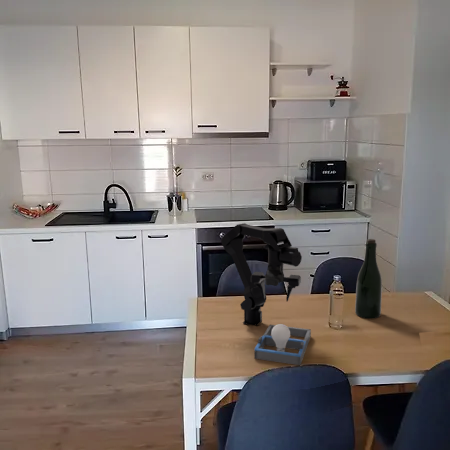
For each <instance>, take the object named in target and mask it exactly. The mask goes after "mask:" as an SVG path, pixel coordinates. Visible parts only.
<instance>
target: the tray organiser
mask: <svg viewBox="0 0 450 450" xmlns="http://www.w3.org/2000/svg"><path fill="white" fill-rule="evenodd" d="M274 326H275V324H269V325H268V327H267V328H266V330H265V331H264V334H263V335H261V336H259V337H258V339H257V341H258V342H257V344H256V345H255V347H254V349H253V350H254V351H253V353H254V359H255V360H263V361H268V362H276V363H283V364H289V365H296V366H301V365H302V362H303V359H304V356H305V354H306V351H307V348H308V345H309V343H310V340H311V333H312V330H311V329H310V328H303V327H302V328H301V327H294V326H287V327H288V328H289V330H290V338H289V340H288V341H287V343H286V347H285V349H291V350H298V353H295V352H287V351H285V352H281V351H277V350H274V349H265V346H269V347H275V348H277V347H276V343H275V341H274V340H273V338H272V336H271V331H272V329H273V327H274ZM291 336H293V337H299V339H297V338H291ZM301 337H302V338H304V339H300V338H301Z"/></svg>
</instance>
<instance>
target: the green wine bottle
mask: <svg viewBox="0 0 450 450" xmlns="http://www.w3.org/2000/svg"><path fill="white" fill-rule="evenodd" d="M377 246H378V245H377V242H376V239H374V238H369V239H368V238H367V240H366V242H365V251H364V252H365V253H364V260H363V263H362V265H361V268H360V270H359V272H358V275H357V280H356V289H355V307H354V309H355V310H354V312H355V314H356V316H358V317H360V318H364V319H371V320H372V319H378V318H380V316H381V312H382V294H383V293H382V291H383V290H382V289H383V285H382V284H383V283H382V282H383V279H382V275H381V272H380V269H379V266H378V265H379V264H378V262H377Z"/></svg>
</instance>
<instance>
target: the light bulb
mask: <svg viewBox="0 0 450 450" xmlns="http://www.w3.org/2000/svg"><path fill="white" fill-rule="evenodd" d="M274 325H275V324H274ZM288 327H289V326H287V325H285V324H284V323H283V324H282V323H278V324H276V325H275V326H274V327H273V329H272V331H271V335H270V336H272V338H273V340H274V341H275V343H276V347H275V348H276V351H281V352H286V348H285V347H286V343H287V341H288V340H289V338H291V335H290V330H289V328H288Z"/></svg>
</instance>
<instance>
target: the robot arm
mask: <svg viewBox="0 0 450 450" xmlns="http://www.w3.org/2000/svg"><path fill="white" fill-rule="evenodd" d="M246 236H248V237H250V238H255V239H260V240H262V241H263V243H265V244H266V245H264V246H263V249H265V250H267V252H268V256H267V258H268V259H267V263H268V265H267V271H266V272H265V273H266V274H264V272H263V271H254V272H253V273H252V271H251V269H250V266H249V264H248V261H247V259H246V256H245V255H244V252H243V251H244V250H243V249H244V242H243V240H244V239H245V238H246ZM220 241H221V245H222V246H223V249H224V251H225V252H226V253H228V254H229V255H230V256H231V258H232V261H233V263H234V266H235V268H236V269H237V273H238V275H239V277H240V280H241V282H242V284H243V287H244V289H243V290H244V291H243V297H244V300H243V301H242V302H241V303H240V308H241V309H240V310H243V313H244V314H243V316H244V317H243V319H244V321H243V322H242V324H243V325H249V326H259V325H260V324H261V323H262V321H263V311H262V310H261V309H262V308H263V307H264V306H265V303H266V302H267V292H266V286H274V287H277V286H278V285H279V284H280V283H287V284H288V285H287V291H286V302H288V301H289V299H290V296H291V294H292V290H293V289H296V287H300V285H301V283H302V278H301V276H300V275H299V274H290V275H289V277H287V276H285V273H284V265H288V266H290V267H291V266H292V267H298V266H300V265H301V262H302V257H303V256H302V254H301V252H300V251H299V247H293V246H292V243H291V241H290V240H289V237H288V235H287V234H286V231H285V230H284V228H282V227H275V228H274V227H272V228H270V227H269V228H265V227H260V226H256V225H251V224H247V223H245V222H244V223H238V224H236V225H235V226H234V227H233V228H232V229H230V230H229V231H228V232H227V233H226V234H224V235H223V236H222V237H221V240H220ZM265 285H266V286H265Z"/></svg>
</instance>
